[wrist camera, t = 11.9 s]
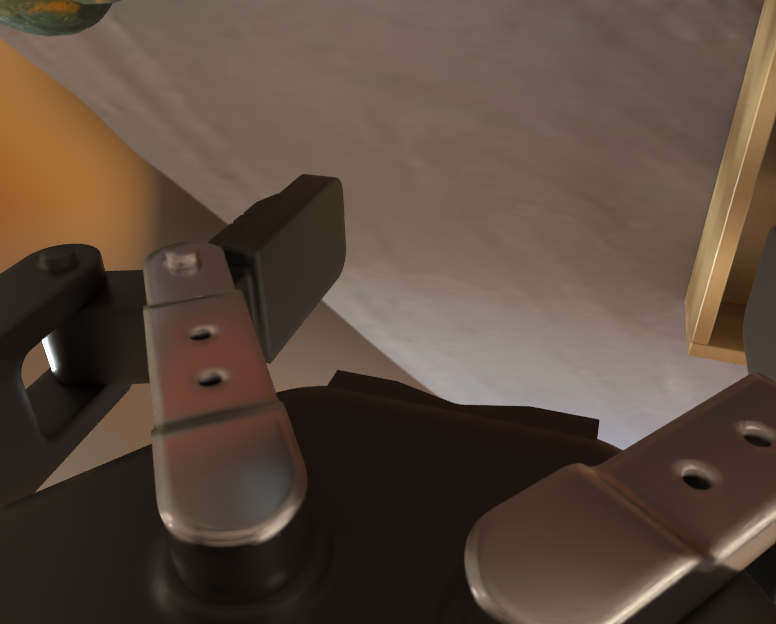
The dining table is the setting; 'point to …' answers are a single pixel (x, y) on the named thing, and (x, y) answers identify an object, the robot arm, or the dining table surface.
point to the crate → (737, 211)
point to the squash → (53, 15)
